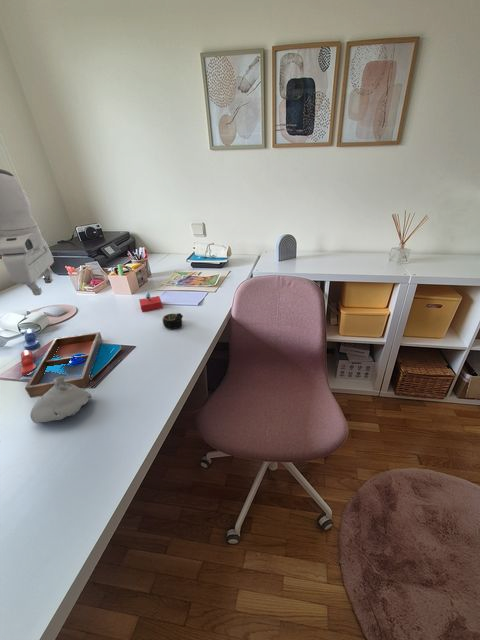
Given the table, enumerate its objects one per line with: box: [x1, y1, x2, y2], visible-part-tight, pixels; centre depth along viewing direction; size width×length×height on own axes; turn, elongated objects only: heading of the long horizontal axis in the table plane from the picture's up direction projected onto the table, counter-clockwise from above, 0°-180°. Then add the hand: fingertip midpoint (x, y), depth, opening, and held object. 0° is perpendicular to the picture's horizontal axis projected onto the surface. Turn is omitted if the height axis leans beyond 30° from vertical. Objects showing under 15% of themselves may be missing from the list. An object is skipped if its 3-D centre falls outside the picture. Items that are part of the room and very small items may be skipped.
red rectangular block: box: [138, 292, 164, 313], centre depth 121 cm, size 8×7×6 cm
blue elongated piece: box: [23, 328, 41, 351], centre depth 101 cm, size 12×4×3 cm, turn 35°
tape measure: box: [161, 312, 184, 330], centre depth 108 cm, size 7×7×4 cm
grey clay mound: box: [29, 376, 93, 424], centre depth 71 cm, size 12×12×11 cm
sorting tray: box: [24, 332, 103, 398], centre depth 89 cm, size 14×26×3 cm, turn 15°
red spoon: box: [19, 349, 38, 376], centre depth 89 cm, size 12×4×3 cm, turn 35°
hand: (44, 288), depth 87 cm, fingers open, 8 cm apart
